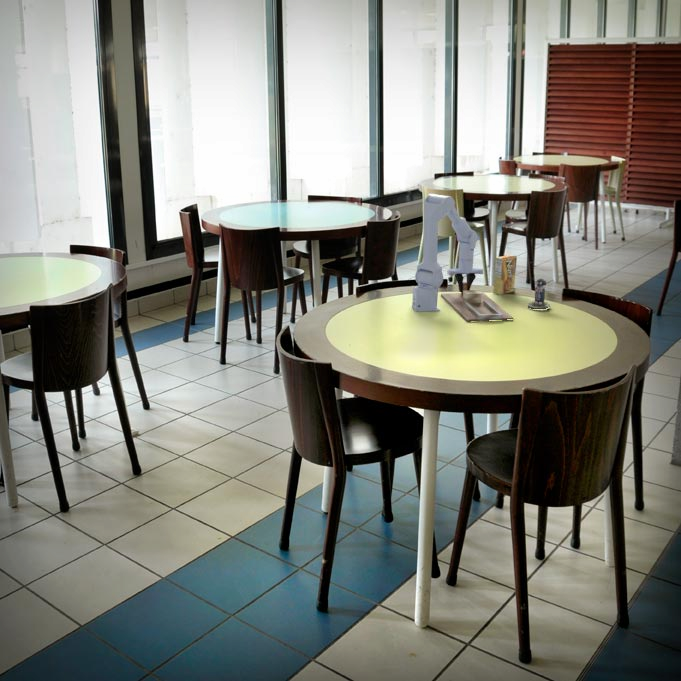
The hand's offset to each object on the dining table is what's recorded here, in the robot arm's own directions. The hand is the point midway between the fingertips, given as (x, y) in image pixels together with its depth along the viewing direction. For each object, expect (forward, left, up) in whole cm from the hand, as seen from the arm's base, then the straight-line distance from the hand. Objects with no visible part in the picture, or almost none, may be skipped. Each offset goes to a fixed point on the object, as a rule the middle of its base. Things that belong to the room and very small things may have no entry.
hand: (464, 291), depth 345 cm
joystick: (0, -6, -1) cm, 6 cm away
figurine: (+25, -19, -3) cm, 31 cm away
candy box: (+19, +5, -3) cm, 20 cm away
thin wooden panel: (0, -16, -2) cm, 16 cm away
